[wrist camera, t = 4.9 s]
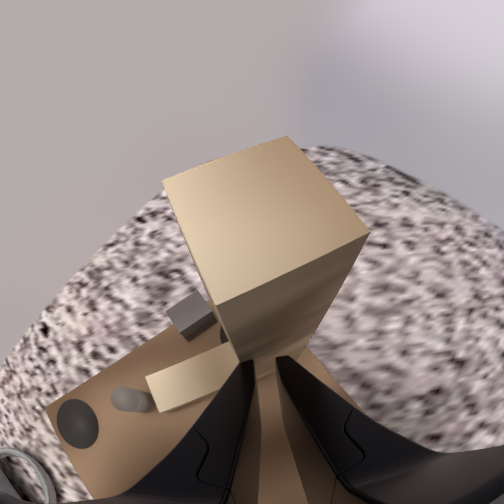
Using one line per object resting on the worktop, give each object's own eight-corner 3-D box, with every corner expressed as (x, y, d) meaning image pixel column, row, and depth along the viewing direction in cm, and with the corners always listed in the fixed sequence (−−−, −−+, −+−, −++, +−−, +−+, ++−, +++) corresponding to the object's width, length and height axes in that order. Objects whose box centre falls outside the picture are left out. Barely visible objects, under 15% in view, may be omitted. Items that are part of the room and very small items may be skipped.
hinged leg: (169, 418, 13) (-16, 398, 3) (151, 374, 15) (-23, 278, 4) (295, 362, 15) (370, 232, 4) (272, 320, 16) (287, 136, 6)
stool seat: (416, 477, 12) (454, 488, 8) (205, 603, 7) (192, 636, 4) (247, 283, 19) (243, 247, 15) (54, 409, 14) (12, 401, 11)
